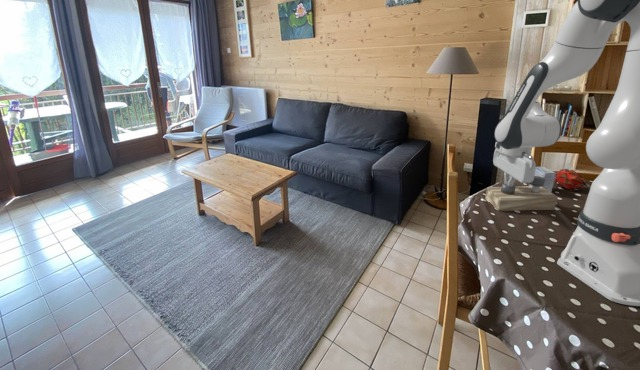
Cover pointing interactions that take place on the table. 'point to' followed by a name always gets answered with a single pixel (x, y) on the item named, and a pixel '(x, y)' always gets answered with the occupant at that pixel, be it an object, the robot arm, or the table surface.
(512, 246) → the table surface
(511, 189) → the knob left
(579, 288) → the table surface
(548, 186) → the medicine box
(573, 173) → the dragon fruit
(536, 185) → the knob right
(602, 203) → the robot arm
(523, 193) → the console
